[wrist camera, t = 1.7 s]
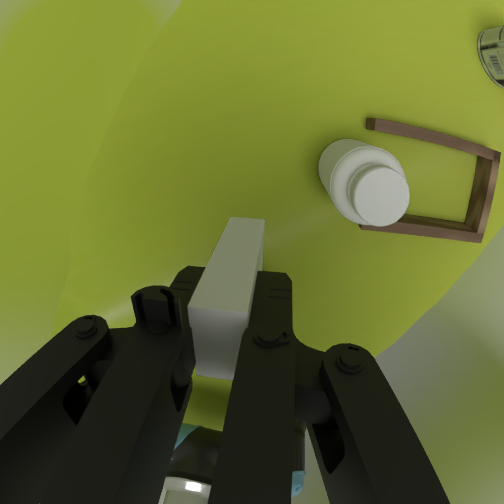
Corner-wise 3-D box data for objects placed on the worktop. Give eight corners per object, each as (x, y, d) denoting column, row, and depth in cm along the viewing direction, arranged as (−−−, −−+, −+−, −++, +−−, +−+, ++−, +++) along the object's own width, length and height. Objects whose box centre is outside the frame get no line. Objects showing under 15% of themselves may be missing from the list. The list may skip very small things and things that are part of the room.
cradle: (468, 232, 38) (481, 243, 34) (354, 218, 39) (361, 229, 36) (485, 147, 31) (500, 152, 28) (366, 117, 33) (375, 118, 29)
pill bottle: (384, 152, 35) (436, 176, 21) (361, 205, 38) (398, 254, 25) (330, 127, 34) (358, 135, 21) (308, 183, 38) (321, 224, 24)
